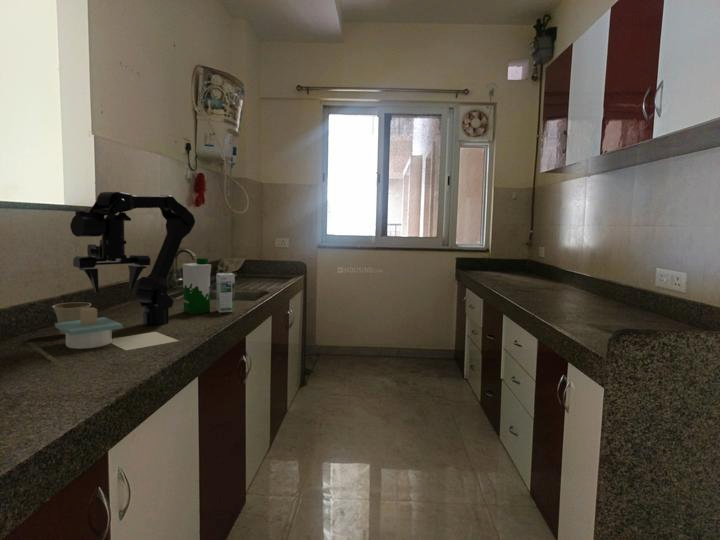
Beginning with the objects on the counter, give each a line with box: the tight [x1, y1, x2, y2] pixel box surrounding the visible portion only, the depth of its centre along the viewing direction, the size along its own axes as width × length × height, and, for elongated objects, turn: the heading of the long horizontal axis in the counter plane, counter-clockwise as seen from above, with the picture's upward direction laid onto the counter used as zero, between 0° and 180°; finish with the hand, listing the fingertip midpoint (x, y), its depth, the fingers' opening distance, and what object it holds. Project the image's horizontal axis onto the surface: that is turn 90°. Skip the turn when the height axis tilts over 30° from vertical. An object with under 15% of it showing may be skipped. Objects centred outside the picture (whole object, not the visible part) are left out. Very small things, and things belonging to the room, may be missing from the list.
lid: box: [54, 306, 124, 335], centre depth 117 cm, size 12×12×5 cm
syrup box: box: [216, 272, 236, 314], centre depth 170 cm, size 6×6×14 cm
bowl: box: [65, 329, 113, 350], centre depth 118 cm, size 10×10×5 cm
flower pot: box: [52, 301, 92, 335], centre depth 129 cm, size 9×9×9 cm
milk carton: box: [182, 257, 212, 315], centre depth 166 cm, size 9×9×20 cm
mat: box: [110, 331, 180, 351], centre depth 122 cm, size 14×14×1 cm
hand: (114, 291), depth 128 cm, fingers open, 9 cm apart
